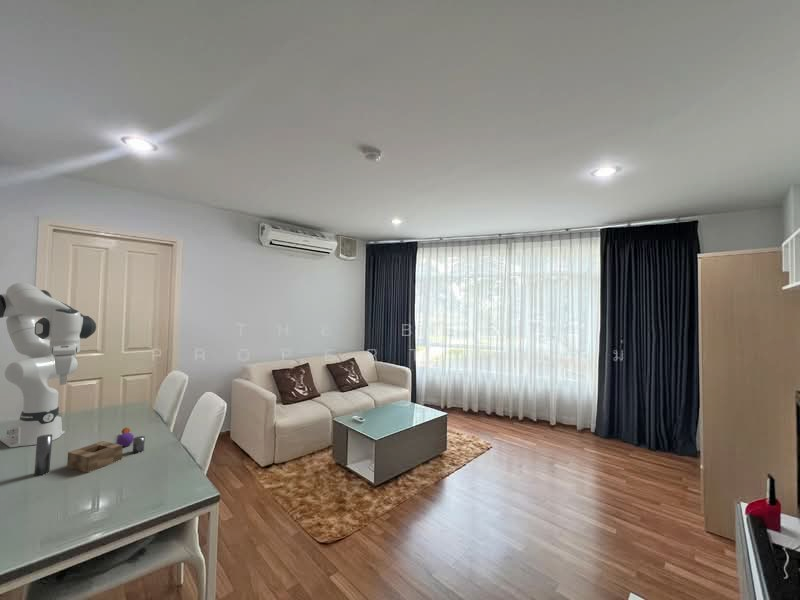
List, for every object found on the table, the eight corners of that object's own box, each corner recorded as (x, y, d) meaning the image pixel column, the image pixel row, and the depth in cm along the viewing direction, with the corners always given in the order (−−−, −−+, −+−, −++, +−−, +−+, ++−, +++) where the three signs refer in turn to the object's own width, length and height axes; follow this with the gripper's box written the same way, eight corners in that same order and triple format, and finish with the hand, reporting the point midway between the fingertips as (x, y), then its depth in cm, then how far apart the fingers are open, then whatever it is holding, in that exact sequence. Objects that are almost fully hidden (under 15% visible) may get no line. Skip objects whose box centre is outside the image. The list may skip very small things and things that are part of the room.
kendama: (135, 424, 166) (135, 434, 151) (131, 437, 165) (131, 448, 150) (120, 424, 163) (119, 434, 147) (116, 437, 161) (114, 448, 146)
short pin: (130, 452, 144) (131, 438, 144) (139, 448, 148) (140, 435, 148) (136, 453, 143) (137, 440, 143) (146, 450, 147) (147, 436, 147)
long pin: (31, 474, 123) (34, 437, 123) (45, 469, 127) (48, 433, 127) (38, 476, 122) (41, 439, 122) (52, 471, 126) (54, 435, 126)
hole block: (66, 467, 129) (68, 452, 129) (102, 455, 141) (102, 441, 141) (87, 473, 126) (88, 457, 126) (121, 459, 137) (122, 445, 137)
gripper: (55, 346, 138) (53, 379, 137) (52, 351, 123) (50, 387, 123) (76, 345, 142) (74, 377, 142) (75, 350, 128) (73, 385, 127)
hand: (63, 382), depth 132 cm, fingers open, 8 cm apart
